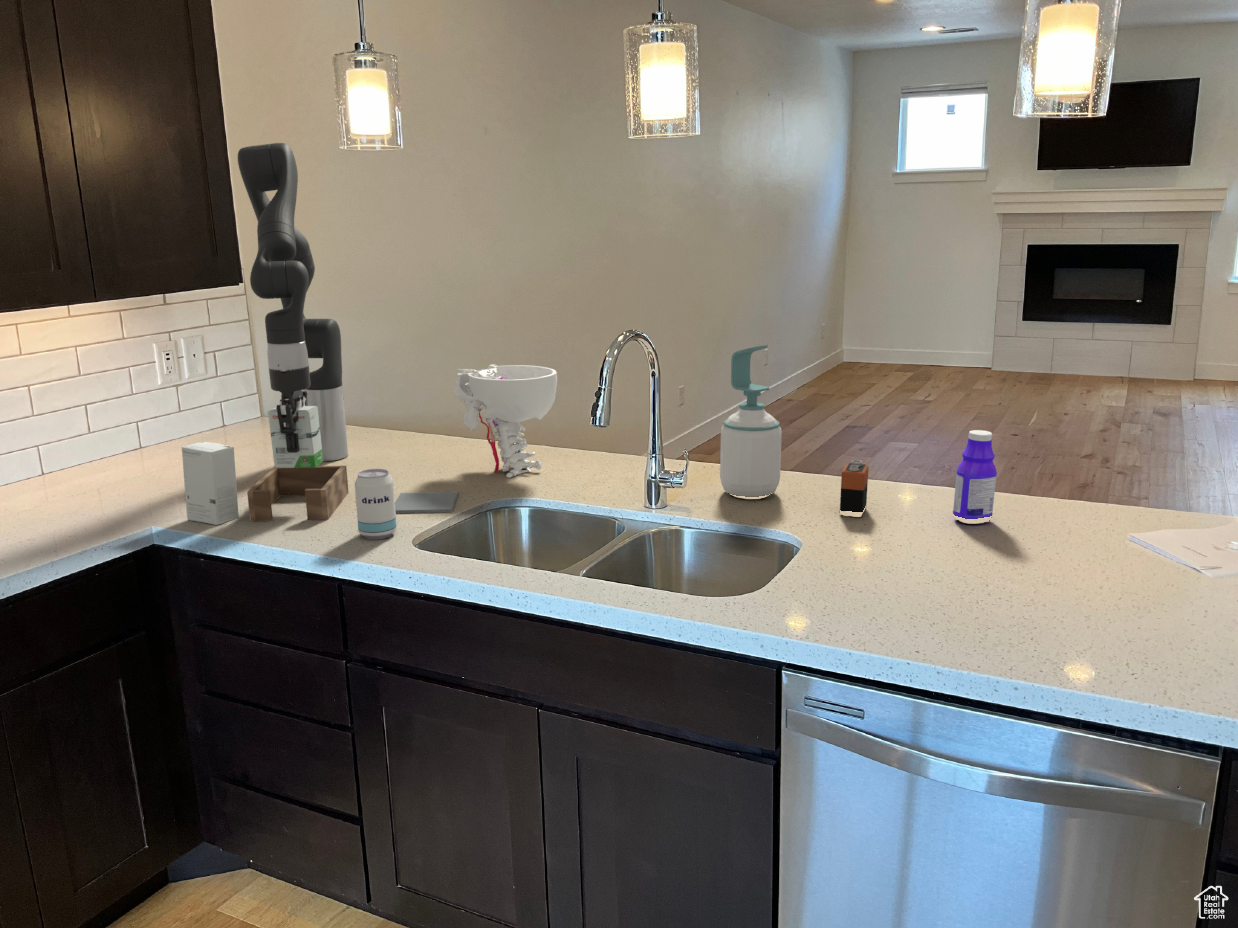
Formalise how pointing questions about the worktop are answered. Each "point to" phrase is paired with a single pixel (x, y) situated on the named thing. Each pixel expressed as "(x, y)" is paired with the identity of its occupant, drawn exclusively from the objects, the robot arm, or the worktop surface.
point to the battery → (854, 486)
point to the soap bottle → (749, 438)
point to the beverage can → (375, 503)
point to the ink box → (307, 440)
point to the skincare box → (210, 482)
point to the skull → (507, 407)
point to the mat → (425, 502)
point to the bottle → (976, 478)
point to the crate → (300, 490)
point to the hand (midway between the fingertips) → (297, 447)
